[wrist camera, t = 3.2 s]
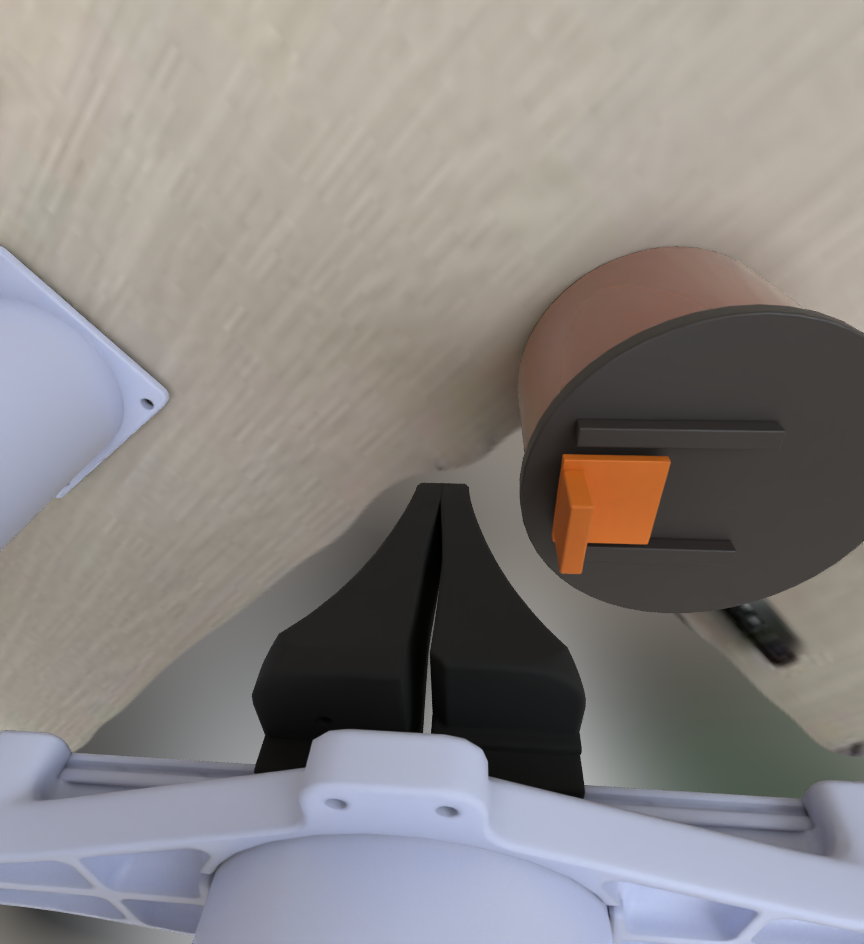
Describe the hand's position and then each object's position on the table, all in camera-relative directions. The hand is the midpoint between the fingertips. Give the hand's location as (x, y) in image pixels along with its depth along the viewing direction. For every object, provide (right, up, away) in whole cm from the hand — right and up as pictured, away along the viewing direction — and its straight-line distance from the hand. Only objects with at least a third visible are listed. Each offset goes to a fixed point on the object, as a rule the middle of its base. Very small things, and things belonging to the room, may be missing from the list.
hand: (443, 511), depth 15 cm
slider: (+5, 0, 0) cm, 5 cm away
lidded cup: (+8, +5, +6) cm, 11 cm away
